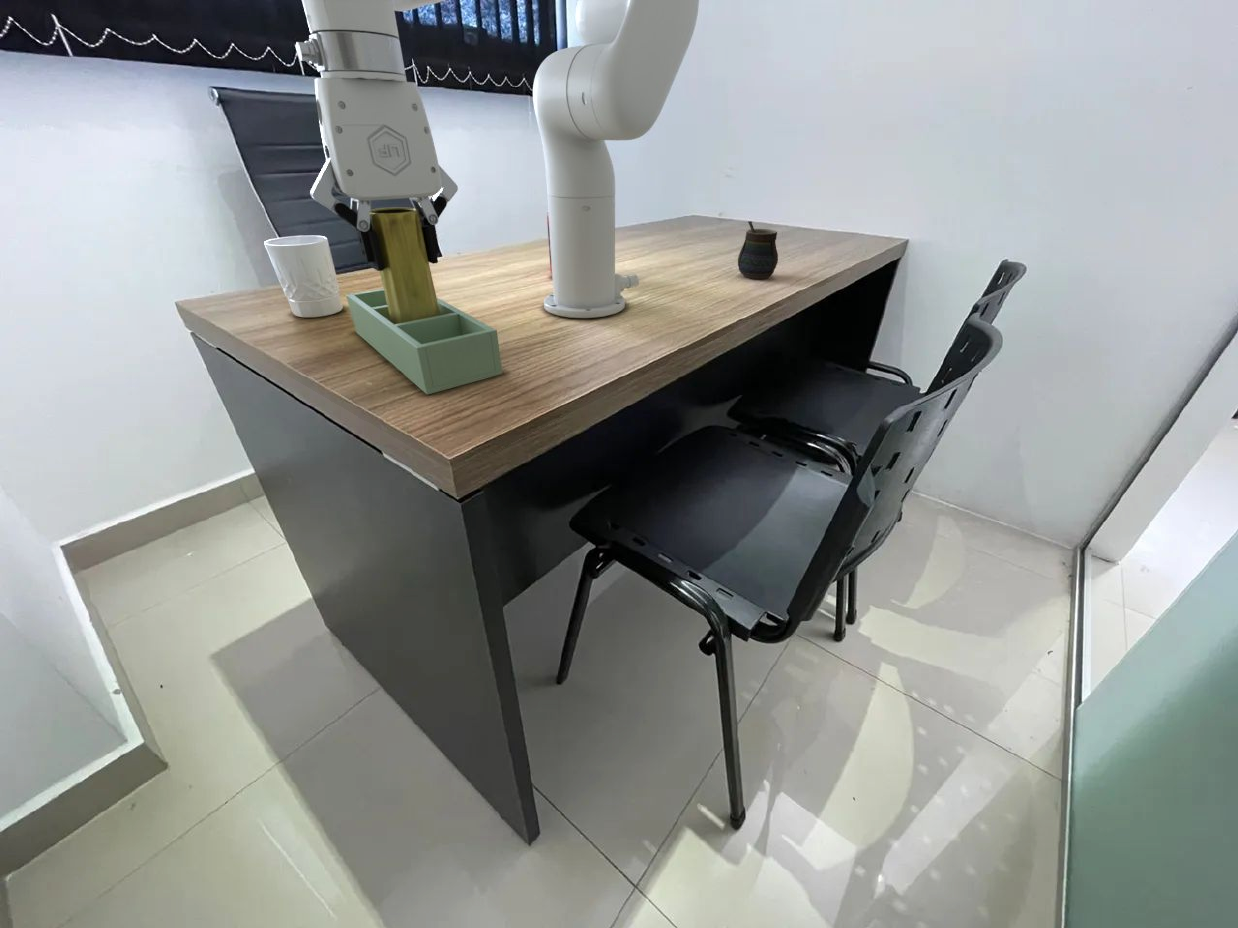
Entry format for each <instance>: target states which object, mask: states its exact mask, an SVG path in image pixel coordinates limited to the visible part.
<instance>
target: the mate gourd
mask: <svg viewBox="0 0 1238 928" xmlns="http://www.w3.org/2000/svg"><path fill="white" fill-rule="evenodd" d="M747 223H748V225H749V228H750V229H748V230H746V231H745V237H744V242H743V245H742V246H741V249H740V251H739V253H738V257H737V266H738V271H739V272H740V274H741V276H743V277H744V278H747V279H752V280H764V279H769V278H770V277H771V276H772V275H773V274H774V272H775V270H776V268H777V265H778V263H779V253H778V250H777V246H776V245H777V244H776V240H777V236H778V231H776V230H774V229H768V228H755V227H754V225H753V222H752V221H751V220H750V221H749V220H748V221H747Z"/></svg>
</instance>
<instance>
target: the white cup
mask: <svg viewBox="0 0 1238 928" xmlns="http://www.w3.org/2000/svg"><path fill="white" fill-rule="evenodd" d="M263 244H264V247H265V249H266V252H267V255H268V257H269V260H270V263H271V265H272V267H273V270H274V272H275V275H276V277H277V280H278V281H279V285H280V287H281V289H282V292H283V294H284V296H285V298H287V302H288V304H289V306H290V310H291V312H292V314H293V315H294V316H295V317H298V318H299V317H300V318H308V319H309V318H321V317H327V316H331V315H335V314H337V313H339V312H341V311H342V310H343V309H344V306H343V301H342V297H341V294H340V287H339V286H340V285H339V282H338V279H337V278H338V277H337V272H336V269H335V264H334V260H333V257H332V256H333V255H332V251H331V247H330V243H329V239H328V238H327V237H326V236H323V235H291V236H281V237H276V238H271V239H268V240H266V241H264V242H263Z"/></svg>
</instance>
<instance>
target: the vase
mask: <svg viewBox="0 0 1238 928" xmlns="http://www.w3.org/2000/svg"><path fill="white" fill-rule="evenodd" d="M370 224H371V227H372V230H373V231H375V232H376V233H377V236H378V240H379V244H380V249H381V253H382V257H383V262H384V266H385V269H384V270H383V271H379V274H380V279H381V284H382V287H383V289H384V292H385V297H386V302H387V306H388V311H389V315H390V320H391V322H392V323H393V324H394V325H395V324H399V323H404V322H409V321H414V320H420V319H425V318H430V317H435V316H440V310H439V306H438V301H437V298H438V297H437V293H436V289H435V285H434V280H433V276H432V271H431V267H430V262H428V257H427V252H426V247H425V242H424V237H423V232H422V227H421V222H420V216H419V212H418V209H415V208H414V207H405V206H402V207H401V206H398V207H397V206H396V207H395V206H394V207H379V208H371V216H370Z"/></svg>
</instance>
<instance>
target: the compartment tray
mask: <svg viewBox="0 0 1238 928" xmlns="http://www.w3.org/2000/svg"><path fill="white" fill-rule="evenodd" d="M345 298H346V300H347V304H348V308H349V311H350V314H351V319H352V322H353V325H354V328H355V332H356V334H357V335H359V336H360V337H361V338H362V339H363V340H364V341H366V343H368V344H369V346H371V347H372V348H373V349H375V350H376V351H377V352H378V353H379V354H380V355H381V356H383V357H384V358H385V359H386V360H387V361H388V362H389V363H390V364H391V365H393V367H395V368H396V369H397V370H398V371H400V372H401V373H402V374H403V375H404V376H405V377H406V378H408V379H409V380H410V381H411V382H412V383H413V384H414V385H415V386H416V387H418V389H420V390H421V391H422V392H423V393H424V394H425V395H427V396H428V395H432V394H435V393H438V392H442V391H446V390H449V389H450V390H451V389H452V388H457V387H460V386H465V385H469V384H471V383H475V382H478V381H483V380H485V379H490V378H493V377H497V376H500V375H503V367H502V360H501V352H500V344H499V335H498V330H497V329H496V328H494V327H492V326H490V325H488V324H486V323H484V322H483V321H481V320H479V319H478V318H475V317H474V316H471V315H470V314H468V313H466V312H464V311H462V310H461V309H458V308H457V307H455V306H453V305H451V304H450V303H448V302H446V301H445V300H442V299H440V298H439V297H437V301H438V306H439V310H440V316H435V317H430V318H425V319H420V320H414V321H409V322H404V323H399V324H395V325H394V324H393V323H392V322H391V320H390V315H389V311H388V306H387V302H386V297H385V292H384V288H380V289H373V290H367V291H360V292H354V293H348V294H345Z"/></svg>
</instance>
